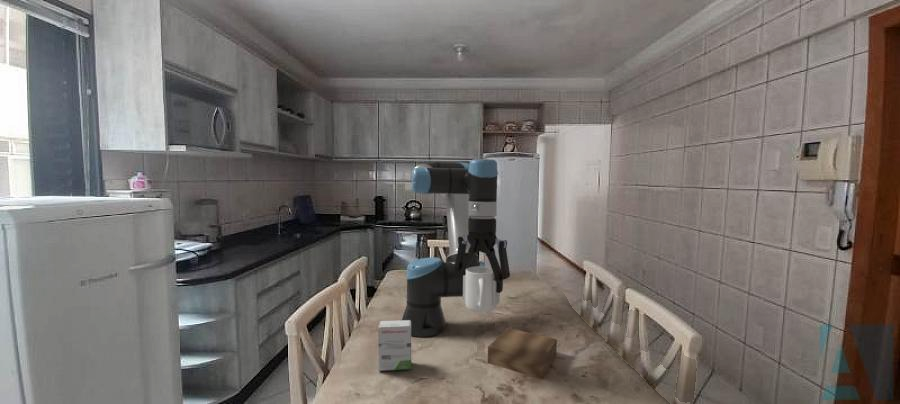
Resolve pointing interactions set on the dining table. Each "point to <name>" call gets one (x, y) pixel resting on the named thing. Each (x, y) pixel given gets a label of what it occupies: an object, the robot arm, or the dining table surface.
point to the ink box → (394, 345)
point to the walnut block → (523, 352)
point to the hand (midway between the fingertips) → (480, 300)
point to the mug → (479, 289)
